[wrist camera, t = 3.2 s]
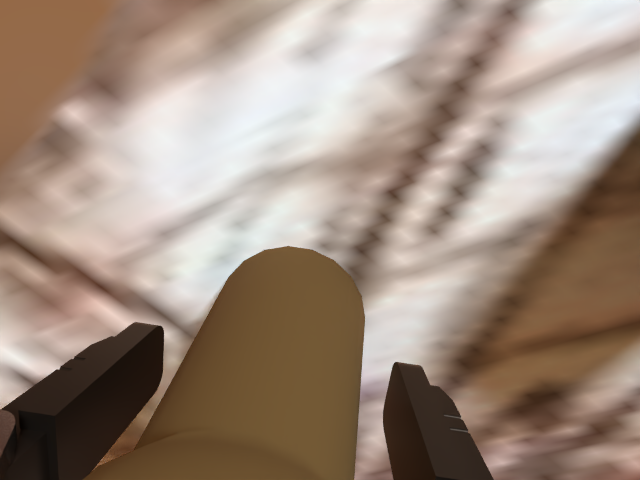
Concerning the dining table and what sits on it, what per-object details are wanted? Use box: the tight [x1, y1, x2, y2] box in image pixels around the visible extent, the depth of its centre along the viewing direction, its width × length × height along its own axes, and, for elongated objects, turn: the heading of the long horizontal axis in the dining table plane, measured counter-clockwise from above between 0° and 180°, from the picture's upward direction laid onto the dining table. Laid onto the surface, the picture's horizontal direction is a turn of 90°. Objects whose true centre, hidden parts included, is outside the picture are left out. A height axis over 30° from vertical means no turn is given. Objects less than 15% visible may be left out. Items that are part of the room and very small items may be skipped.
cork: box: [83, 246, 365, 480], centre depth 7 cm, size 6×6×11 cm
